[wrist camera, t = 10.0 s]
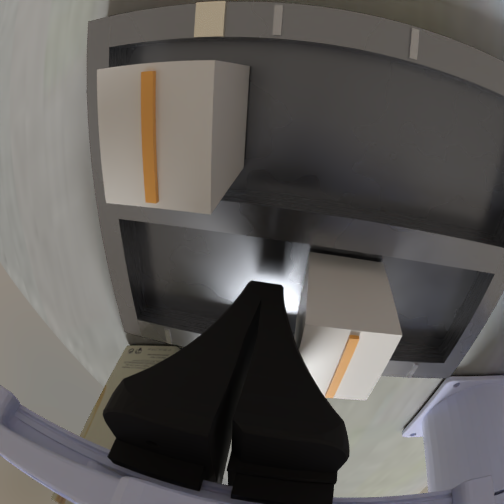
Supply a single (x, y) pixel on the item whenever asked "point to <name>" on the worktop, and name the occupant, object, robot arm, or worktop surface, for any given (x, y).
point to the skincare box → (127, 365)
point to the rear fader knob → (346, 324)
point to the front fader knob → (172, 132)
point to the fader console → (321, 173)
